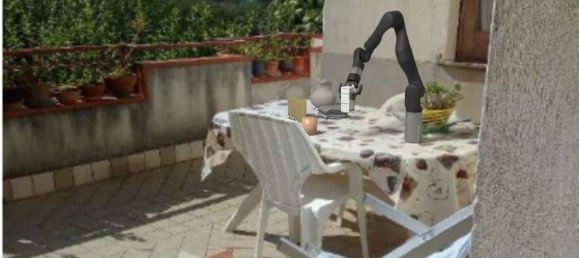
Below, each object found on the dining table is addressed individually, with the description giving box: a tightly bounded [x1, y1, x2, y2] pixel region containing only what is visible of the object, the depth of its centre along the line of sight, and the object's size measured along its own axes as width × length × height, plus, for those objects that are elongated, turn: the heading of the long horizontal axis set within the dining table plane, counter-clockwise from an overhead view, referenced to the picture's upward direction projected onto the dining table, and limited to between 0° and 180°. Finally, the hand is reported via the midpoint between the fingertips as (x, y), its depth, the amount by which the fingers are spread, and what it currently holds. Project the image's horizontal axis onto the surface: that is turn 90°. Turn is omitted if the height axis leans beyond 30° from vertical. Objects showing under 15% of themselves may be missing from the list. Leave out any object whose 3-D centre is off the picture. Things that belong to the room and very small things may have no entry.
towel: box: [317, 104, 350, 120], centre depth 400 cm, size 15×18×8 cm
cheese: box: [287, 96, 308, 123], centre depth 386 cm, size 22×10×15 cm, turn 19°
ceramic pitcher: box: [309, 75, 337, 109], centre depth 429 cm, size 22×20×25 cm
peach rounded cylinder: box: [301, 116, 318, 137], centre depth 344 cm, size 9×9×10 cm
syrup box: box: [340, 86, 356, 114], centre depth 330 cm, size 6×6×14 cm
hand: (346, 99), depth 329 cm, fingers closed on syrup box, 7 cm apart
